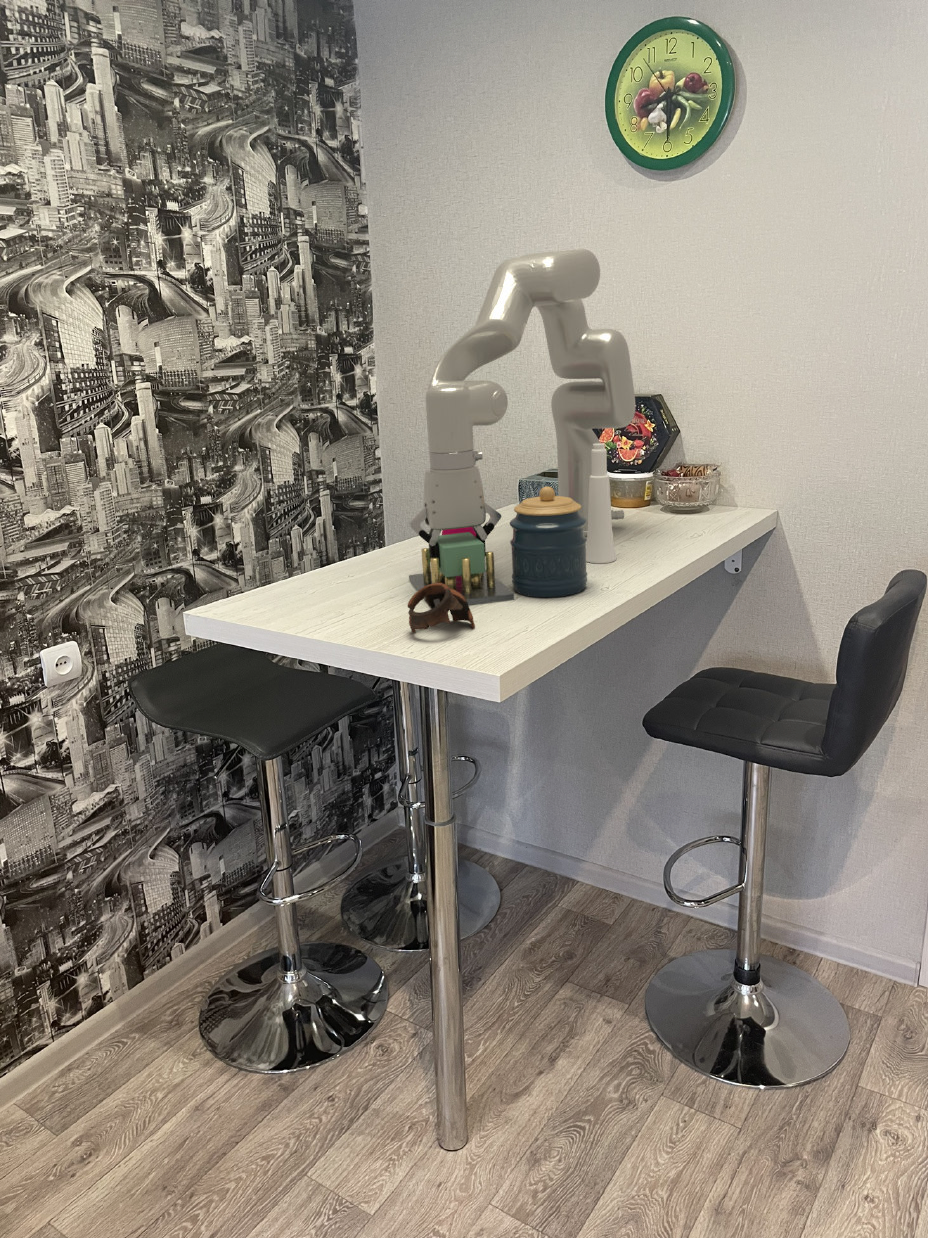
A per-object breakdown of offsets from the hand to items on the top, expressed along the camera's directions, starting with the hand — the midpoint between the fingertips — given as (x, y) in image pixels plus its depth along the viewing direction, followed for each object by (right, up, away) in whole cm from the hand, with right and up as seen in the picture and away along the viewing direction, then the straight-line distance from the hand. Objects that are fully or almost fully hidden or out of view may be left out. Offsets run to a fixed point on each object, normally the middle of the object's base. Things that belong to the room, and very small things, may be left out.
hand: (458, 563), depth 162 cm
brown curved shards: (-2, -11, -19) cm, 22 cm away
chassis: (0, -5, +1) cm, 5 cm away
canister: (+16, -5, -1) cm, 17 cm away
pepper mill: (0, +2, +24) cm, 24 cm away
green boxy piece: (0, -1, 0) cm, 1 cm away
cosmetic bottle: (+27, +1, +16) cm, 32 cm away
